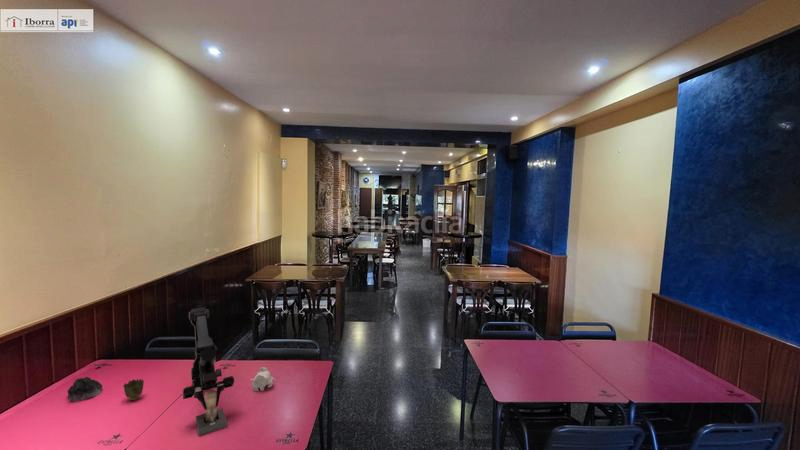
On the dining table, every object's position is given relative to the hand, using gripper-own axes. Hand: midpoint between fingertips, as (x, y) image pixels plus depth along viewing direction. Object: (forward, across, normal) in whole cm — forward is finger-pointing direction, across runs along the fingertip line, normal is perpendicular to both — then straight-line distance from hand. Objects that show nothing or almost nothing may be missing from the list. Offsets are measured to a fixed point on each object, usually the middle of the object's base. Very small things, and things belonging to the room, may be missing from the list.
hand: (211, 407), depth 143 cm
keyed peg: (+4, 0, +6) cm, 7 cm away
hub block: (+5, 0, +7) cm, 8 cm away
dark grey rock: (-36, -46, +48) cm, 75 cm away
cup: (-24, -27, +35) cm, 50 cm away
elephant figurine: (-8, +25, +20) cm, 33 cm away
